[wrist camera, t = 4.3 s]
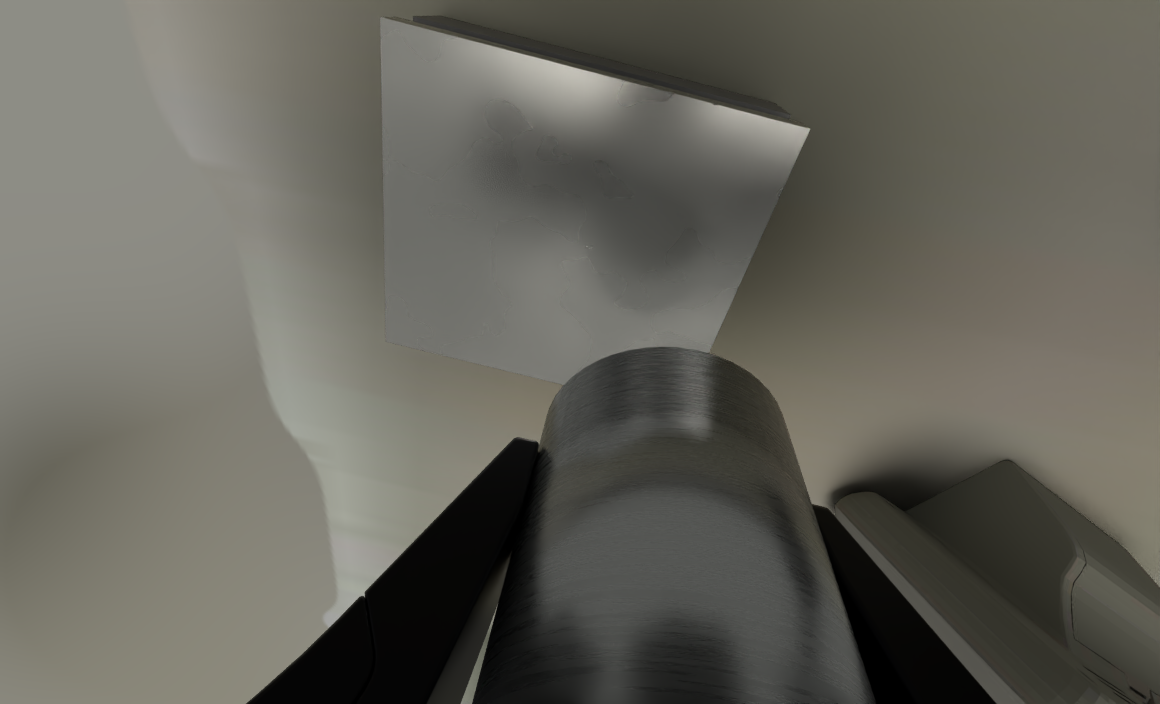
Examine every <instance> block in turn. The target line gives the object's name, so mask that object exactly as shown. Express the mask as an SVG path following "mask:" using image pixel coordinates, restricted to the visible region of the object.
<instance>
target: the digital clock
mask: <svg viewBox="0 0 1160 704" xmlns="http://www.w3.org/2000/svg"><path fill="white" fill-rule="evenodd" d="M835 517H836V518H837V519H838V520H839V521H840V523H841V524H842V525H843V526H844V527H845V528H846V530H847V531H848V532H849V533H850V534H851V535H852V537H853V538H854V539H855V540H856V541H857V542H858V543H859V545H860V546H861V547H862V548H863V549H864V550H865V552H866V553H867V554H868V555H869V556H870V557H871V559H872V560H873V561H874V562H875V563H876V564H877V565H878V567H879V568H880V569H881V570H882V571H883V572H884V574H885V575H886V576H887V577H888V578H889V579H890V581H891V582H892V583H893V584H894V585H895V586H896V587H897V589H898V590H899V591H900V592H901V593H902V594H903V596H904V597H905V598H906V599H907V600H908V601H909V603H910V604H911V605H912V606H913V607H914V608H915V609H916V611H917V612H918V613H919V614H920V615H921V616H922V618H923V619H924V620H925V621H926V622H927V623H928V625H929V626H930V627H931V628H932V629H933V630H934V631H935V633H936V634H937V635H938V636H939V637H940V638H941V640H942V641H943V642H944V643H945V644H946V645H947V647H948V648H949V649H950V650H951V651H952V652H953V653H954V655H955V656H956V657H957V658H958V659H959V660H960V662H961V663H962V664H963V665H964V666H965V667H966V669H967V670H968V671H969V672H970V673H971V674H972V675H973V677H974V678H975V679H976V680H977V681H978V682H979V684H980V685H981V686H982V687H983V688H984V689H985V691H986V692H987V693H988V694H989V695H990V696H991V697H992V699H993V700H994V701H995V702H996V703H997V704H1160V587H1159V586H1158V585H1157V584H1156V583H1155V582H1154V580H1153V579H1152V578H1151V577H1150V576H1149V575H1148V574H1147V573H1146V571H1145V570H1144V569H1143V568H1142V567H1141V566H1140V565H1139V564H1138V562H1137V561H1136V560H1135V559H1134V558H1133V557H1132V556H1131V555H1130V553H1129V552H1128V551H1127V550H1126V549H1124V548H1123V547H1122V546H1121V545H1119V544H1118V543H1117V542H1115V541H1114V540H1113V539H1111V538H1110V537H1109V536H1108V535H1106V534H1105V533H1104V532H1102V531H1101V530H1100V529H1098V528H1097V527H1096V526H1095V525H1093V524H1092V523H1091V522H1089V521H1088V520H1087V519H1085V518H1084V517H1083V516H1082V515H1080V514H1079V513H1078V512H1076V511H1075V510H1074V509H1073V508H1071V507H1070V506H1069V505H1067V504H1066V503H1065V502H1063V501H1062V500H1061V499H1060V498H1058V497H1057V496H1056V495H1054V494H1053V493H1052V492H1050V491H1049V490H1048V489H1047V488H1045V487H1044V486H1043V485H1041V484H1040V483H1039V482H1037V481H1036V480H1035V479H1034V478H1032V477H1031V476H1030V475H1028V474H1027V473H1026V472H1024V471H1023V470H1022V469H1021V468H1019V467H1018V466H1017V465H1015V464H1014V463H1013V462H1010V461H1002V462H999V463H997V464H995V465H993V466H991V467H989V468H987V469H985V470H984V471H982V472H980V473H978V474H976V475H974V476H972V477H970V478H968V479H966V480H964V481H963V482H961V483H959V484H957V485H955V486H953V487H951V488H949V489H947V490H945V491H943V492H942V493H940V494H938V495H936V496H934V497H932V498H930V499H928V500H926V501H924V502H923V503H921V504H919V505H917V506H915V507H913V508H911V509H909V510H907V511H905V512H904V511H903V510H901V509H900V508H898V507H897V506H895V505H894V504H892V503H891V502H889V501H888V500H886V499H885V498H883V497H882V496H880V495H879V494H877V493H874V492H859V493H854V494H849V495H847V496H845V497H843V498H842V499H840V500H839V501H838V502H837V504H835Z"/></svg>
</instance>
